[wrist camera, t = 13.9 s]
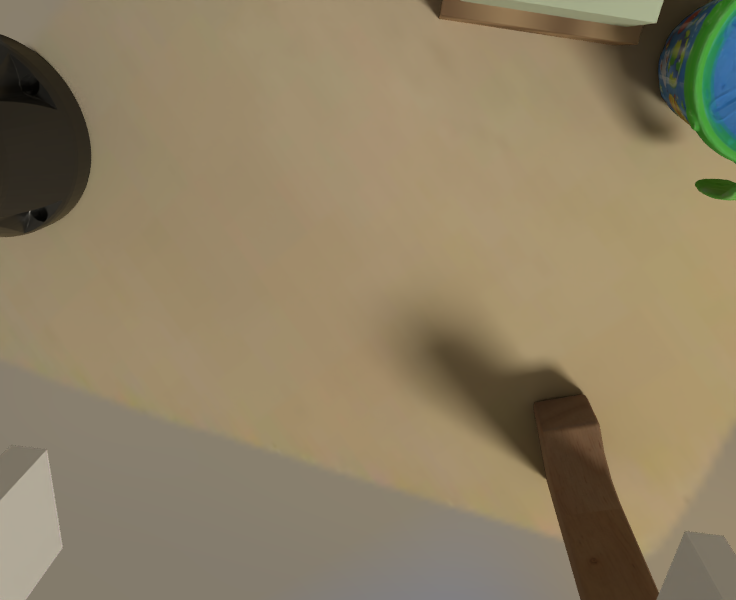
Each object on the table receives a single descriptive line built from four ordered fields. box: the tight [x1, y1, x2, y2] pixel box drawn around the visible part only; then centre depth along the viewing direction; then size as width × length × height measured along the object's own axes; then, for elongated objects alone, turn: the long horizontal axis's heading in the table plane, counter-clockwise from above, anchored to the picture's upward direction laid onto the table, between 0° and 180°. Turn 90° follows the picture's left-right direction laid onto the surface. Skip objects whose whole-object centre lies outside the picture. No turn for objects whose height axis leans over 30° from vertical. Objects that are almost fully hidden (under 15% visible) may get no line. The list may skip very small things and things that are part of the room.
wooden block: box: [533, 394, 659, 600], centre depth 43 cm, size 9×4×18 cm, turn 15°
